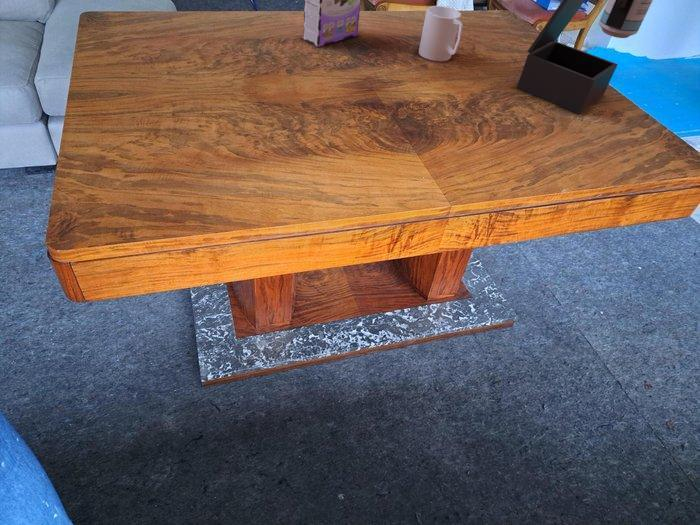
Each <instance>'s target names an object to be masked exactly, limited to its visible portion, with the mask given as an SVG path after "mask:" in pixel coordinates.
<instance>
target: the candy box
mask: <svg viewBox="0 0 700 525" xmlns="http://www.w3.org/2000/svg"><path fill="white" fill-rule="evenodd" d="M361 1H362V0H304V7H303V9H304V10H303V32H302V33H303V37H302V39H303V40H305V41H306V42H308V43H310V44H311V45H313V46H315V47H317V48H319V47H323V46H325V45H330V44H333V43H336V42H339V41H343V40H346V39H349V38H353V37H356V36H358V34H359V22H360V12H361Z"/></svg>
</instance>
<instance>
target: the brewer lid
mask: <svg viewBox="0 0 700 525" xmlns="http://www.w3.org/2000/svg"><path fill="white" fill-rule="evenodd" d="M585 2H586V0H562V1H560V3H559V5H558V6H557V8H556V9H555V10H554V12H553V14H552V15H551V17H550V18H549V19H548V21H547V22H546V23H545V25H544V27H543V28H542V30H541V31H540V32H539V34H538V35H537V37H535V39H534V41H533V42H532V43H531V45H530V47H529V48H528V50H527V53H529V54H530V53H532V52H534V51H536V50H538V49H540V48H542V47H544V46H546V45H548V44H549V43H551V42H553V41H557V40H558V39H559V38H560V36H561V35H562V33H563V32H564V31H565V29H566V28H567V27H568V25H569V24H570V22H571V21H572V19H574V17H575V15H576V14H577V13H578V11H579V10H580V9H581V7H582V6H583V4H585Z"/></svg>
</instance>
